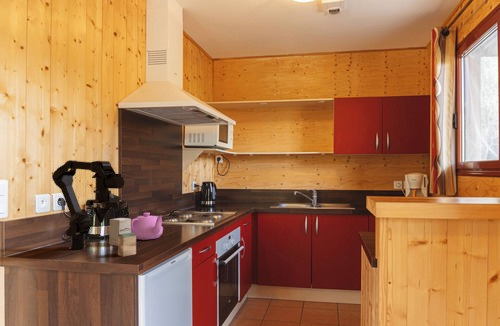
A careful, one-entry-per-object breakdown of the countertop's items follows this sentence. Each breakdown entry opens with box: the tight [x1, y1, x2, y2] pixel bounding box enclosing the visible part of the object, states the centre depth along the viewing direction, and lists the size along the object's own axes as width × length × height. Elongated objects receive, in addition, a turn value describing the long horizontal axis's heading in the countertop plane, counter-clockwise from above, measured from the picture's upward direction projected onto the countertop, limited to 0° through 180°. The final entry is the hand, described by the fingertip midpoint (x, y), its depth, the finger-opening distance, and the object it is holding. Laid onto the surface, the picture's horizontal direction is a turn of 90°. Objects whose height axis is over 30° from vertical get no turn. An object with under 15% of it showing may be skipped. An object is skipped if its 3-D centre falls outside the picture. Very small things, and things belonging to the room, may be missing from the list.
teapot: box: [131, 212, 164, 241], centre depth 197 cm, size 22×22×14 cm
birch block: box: [117, 232, 137, 257], centre depth 159 cm, size 4×6×9 cm
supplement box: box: [108, 217, 132, 247], centre depth 181 cm, size 7×7×13 cm
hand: (101, 222), depth 166 cm, fingers closed
